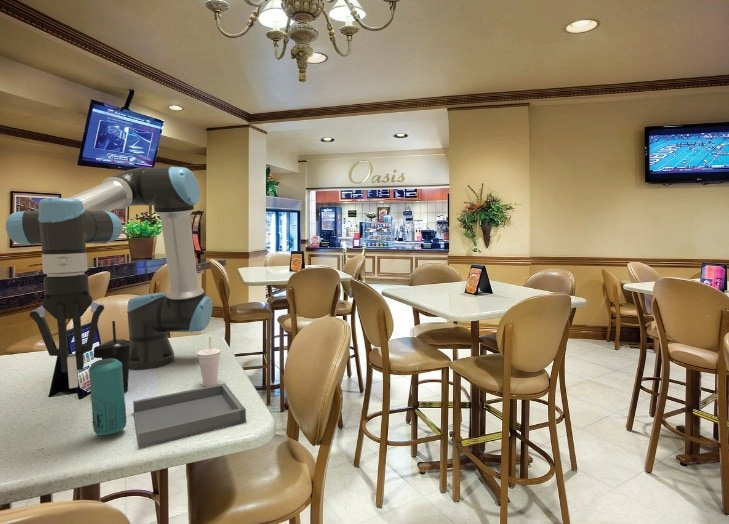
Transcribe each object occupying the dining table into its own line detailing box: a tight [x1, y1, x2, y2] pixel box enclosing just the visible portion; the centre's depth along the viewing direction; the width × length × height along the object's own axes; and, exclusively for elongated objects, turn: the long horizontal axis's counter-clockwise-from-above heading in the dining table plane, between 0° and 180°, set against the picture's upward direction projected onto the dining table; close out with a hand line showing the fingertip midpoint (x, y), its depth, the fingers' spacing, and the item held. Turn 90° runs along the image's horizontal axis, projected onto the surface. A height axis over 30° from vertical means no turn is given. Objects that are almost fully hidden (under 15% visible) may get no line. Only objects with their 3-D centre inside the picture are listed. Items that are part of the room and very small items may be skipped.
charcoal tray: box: [132, 382, 247, 449], centre depth 102 cm, size 20×22×3 cm
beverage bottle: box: [88, 344, 128, 436], centre depth 93 cm, size 6×7×20 cm
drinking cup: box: [98, 320, 131, 394], centre depth 118 cm, size 8×8×20 cm
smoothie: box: [196, 336, 221, 387], centre depth 123 cm, size 6×6×14 cm
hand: (74, 385), depth 90 cm, fingers closed
